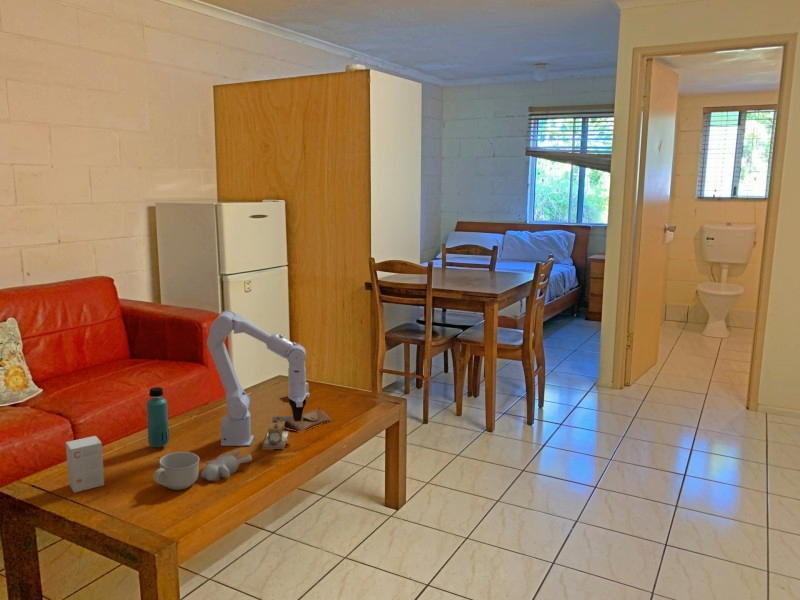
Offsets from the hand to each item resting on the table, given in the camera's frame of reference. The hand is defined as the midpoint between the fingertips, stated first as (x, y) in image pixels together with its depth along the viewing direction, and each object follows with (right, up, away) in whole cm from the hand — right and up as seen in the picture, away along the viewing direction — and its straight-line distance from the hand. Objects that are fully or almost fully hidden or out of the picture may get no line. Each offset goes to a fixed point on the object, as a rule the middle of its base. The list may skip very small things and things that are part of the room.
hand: (297, 420), depth 213 cm
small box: (-54, -12, -33) cm, 65 cm away
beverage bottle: (-44, -8, -7) cm, 45 cm away
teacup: (-29, -13, -32) cm, 46 cm away
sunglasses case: (+2, -5, +17) cm, 18 cm away
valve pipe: (-7, -7, 0) cm, 10 cm away
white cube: (-7, +1, +45) cm, 45 cm away
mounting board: (-7, -7, 0) cm, 10 cm away
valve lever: (-3, 0, 0) cm, 3 cm away
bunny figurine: (-18, -12, -23) cm, 31 cm away
